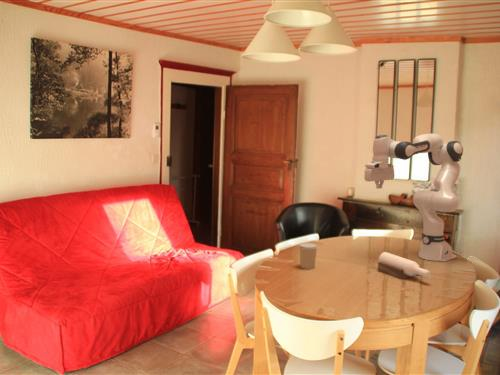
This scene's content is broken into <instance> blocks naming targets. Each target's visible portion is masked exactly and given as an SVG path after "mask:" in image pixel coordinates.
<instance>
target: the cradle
mask: <svg viewBox="0 0 500 375" xmlns="http://www.w3.org/2000/svg"><path fill="white" fill-rule="evenodd" d="M377 264H378V265H377V271H379V272H381V273H384V274H386V275H389V276H390V277H391V276H392V277H394V278H397V279H400V280H402V279H406V278H407V279H408V278H413V277H414V276H408V275H405V274H403V272H404V270H402V269H399V268H396V267H393V266H391V265H388V264H385V263H382V262H379V261H378V262H377ZM419 268H421V266H419ZM416 276H417V277H418V276H419V275H418V274H417V275H416ZM416 276H415V277H416Z"/></svg>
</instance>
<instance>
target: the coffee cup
mask: <svg viewBox="0 0 500 375" xmlns="http://www.w3.org/2000/svg"><path fill="white" fill-rule="evenodd" d="M317 248H318V246H317V245H316V244H315V243H310V242H309V243H300V244H299V264H300V268H301V269H305V270H313V269H315V267H316V260H317V259H316V258H317V257H316V256H317Z"/></svg>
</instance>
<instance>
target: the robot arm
mask: <svg viewBox="0 0 500 375" xmlns="http://www.w3.org/2000/svg"><path fill="white" fill-rule="evenodd" d="M372 144H373V145H372V154H373V156H372V158H371V159H372V160H370V161H369V162H366V163H365V170H364V180H365V182H374V184H375V186H376V187H375V188H376V189H383V185H384V183H385V181H391V180H392V181H393V180H394V179H395V169H394V165H393V163H389V161H390V160H389V158H392V159H399V160H403V161H406V160H409V159H411V158H412V157H413V156H415V155H417V154H427V158H428V161H429V163H431V164H432V165H433V166H441V167H440V170H439V171H438V173H437V175H436V177H435V178H434V181H433V187H434V188H435V190H436V191H433V190H432V191H431V190H418V191H416V192H415V193H414V195H413V196H412V197H413V198H412V202H413V204H414V206H415V207H416V209H418V211H419V212H420V214H421V216H422V219H423V220H422V222H423V224H422V225H423V228H422V230H423V231H422V233H421V242H420V247H419V251H418V252H417V255H418V257H419V258H421V259H423V260H426V261H431V262H432V261H435V262H445V263H446V262H447V261H450V260H453V259H456V258H457V255H456V254H454V253H453V248H452V246H451V245H450V243H448V242H447V241H446V239H448V238H449V235H448V234H444V230H445V222H444V220H443V218H441V217H440V216H438V214H437V213H436V212H441V213H452V212H455V211H456V210H457V209H458V207H459V204H460V202H459V198H458V196H457V195H456V194H455V193H454V187H455V185H456V183H457V180H458V178H459V175H460V171H461V166H460V164H459V163H458V162H460V160H462V156H463V152H464V148H463V146H462V143H461V142H460V141H458V140H451V141H448V142H446V143H444V139H443V137H442V135H440V134H438V133H424V134H419V135H417V136H415V137H414V138H413V140H412V142H410V141H401V140H400V141H398V140H394V139H392V138H390V137H389V135H387V134H380V135H376V136H375V137H374V139H373V143H372Z"/></svg>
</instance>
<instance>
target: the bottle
mask: <svg viewBox="0 0 500 375" xmlns="http://www.w3.org/2000/svg"><path fill="white" fill-rule="evenodd" d="M378 262H382V263H385V264H388V265H391V266H393V267H396V268H399V269H402V270H404V272H403V274H405V275H408V276H413V277H416V275H417V274H418V276H420V277H423V278H427V279H428V278H430V277H431V274H432V273H431V271H430V270H429V269H425V268H422V267H420V265H419V264H418V263H417V262H416V261H415V260H412V259H408V258H405V257H402V256H399V255H396V254H392V253H391V252H387V251H383V252H382V253H381V254H380V255H379V257H378ZM419 267H420V268H419Z"/></svg>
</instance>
